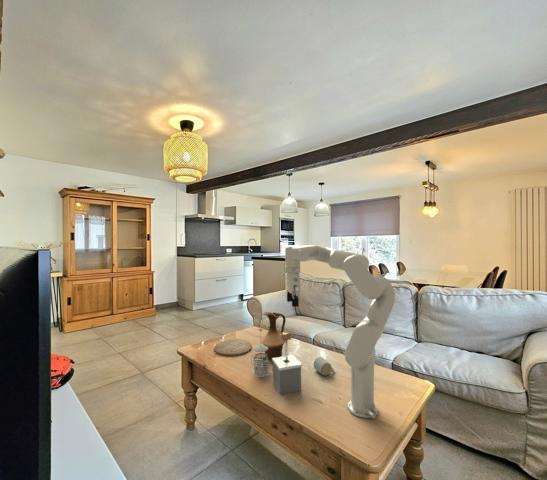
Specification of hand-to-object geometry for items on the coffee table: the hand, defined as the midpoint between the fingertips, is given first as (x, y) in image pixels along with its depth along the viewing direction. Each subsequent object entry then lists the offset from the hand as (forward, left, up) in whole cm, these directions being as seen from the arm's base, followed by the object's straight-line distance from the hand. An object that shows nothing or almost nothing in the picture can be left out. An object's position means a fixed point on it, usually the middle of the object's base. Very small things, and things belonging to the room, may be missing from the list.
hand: (292, 303), depth 144 cm
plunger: (0, +3, -33) cm, 33 cm away
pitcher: (+36, -2, -42) cm, 56 cm away
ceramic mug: (+8, -22, -43) cm, 48 cm away
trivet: (+57, +20, -43) cm, 74 cm away
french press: (+18, +12, -42) cm, 48 cm away
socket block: (+3, +3, -42) cm, 42 cm away
